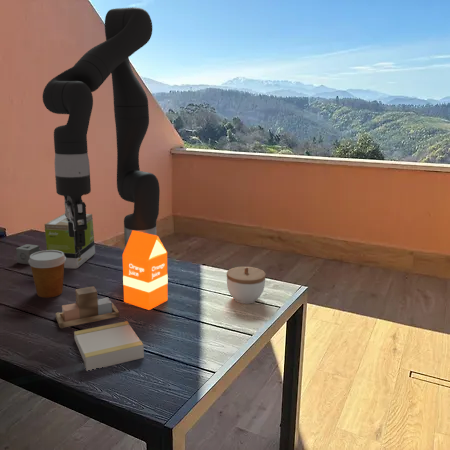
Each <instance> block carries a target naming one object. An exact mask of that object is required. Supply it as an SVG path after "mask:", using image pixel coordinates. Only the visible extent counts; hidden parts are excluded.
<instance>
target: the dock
mask: <svg viewBox="0 0 450 450" xmlns="http://www.w3.org/2000/svg"><path fill="white" fill-rule="evenodd" d="M73 334H74V335H73V337H74V342H75V343H76V346H77V348H78V350H79V353H80V355H81V358H82V360H83V362H82V364H83V366H84V368H86V369H85V371H86V372H89V371H88V370H90V371H93V370H92V369H94V370H97V369H96V368H99V369H101V368H102V367H103V368H107V367H111V366H115V365H118V364H123V363H128V362H131V361H135V360H140V359H143V358H145V352H144V351H145V350H144V347H145V346H144V343H143V342H142V340H141V339H140V338H139V337H138V335H137V334H136V332H135V331H134V329H133V328H132V326H131V325H130V323H129V322H128V320H126V321H120V322H114V323H110V324H106V325H100V326H96V327H91V328H86V329H80V330H77V331H76V330H75V331H73Z"/></svg>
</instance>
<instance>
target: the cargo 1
mask: <svg viewBox="0 0 450 450" xmlns="http://www.w3.org/2000/svg"><path fill="white" fill-rule="evenodd" d="M61 310H62V311H61V313H62V315H63V320H64V322H66V321H71V320H77V319H80V313H79V307H78V305H77V303H76V302H74V303H73V302H72V303H70V304H68V303H67V304H63V305H61Z"/></svg>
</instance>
